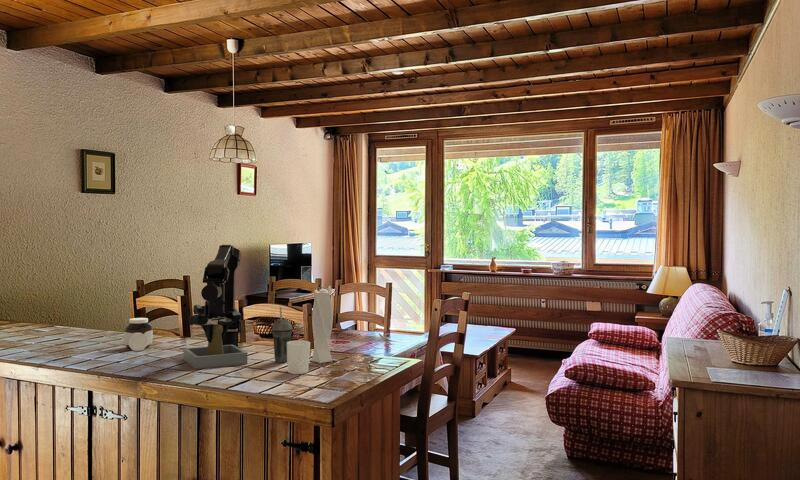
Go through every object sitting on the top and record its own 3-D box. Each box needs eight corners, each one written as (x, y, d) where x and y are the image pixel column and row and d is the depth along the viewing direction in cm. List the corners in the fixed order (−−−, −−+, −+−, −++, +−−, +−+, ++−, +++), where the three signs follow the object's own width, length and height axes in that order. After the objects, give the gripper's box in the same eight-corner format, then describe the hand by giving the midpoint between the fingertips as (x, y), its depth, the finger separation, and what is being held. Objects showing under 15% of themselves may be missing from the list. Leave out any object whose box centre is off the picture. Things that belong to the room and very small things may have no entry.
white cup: (298, 375, 188) (299, 345, 188) (281, 372, 193) (281, 342, 193) (314, 371, 195) (315, 342, 195) (297, 368, 199) (297, 339, 199)
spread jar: (143, 345, 237) (143, 316, 237) (161, 348, 231) (161, 319, 231) (116, 349, 227) (116, 320, 227) (133, 352, 221) (134, 322, 221)
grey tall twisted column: (338, 362, 210) (339, 285, 210) (320, 365, 205) (321, 286, 205) (324, 358, 216) (325, 284, 216) (306, 361, 211) (307, 284, 211)
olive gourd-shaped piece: (226, 353, 210) (227, 323, 210) (219, 357, 204) (220, 326, 204) (210, 353, 211) (211, 323, 211) (203, 356, 205) (204, 325, 205)
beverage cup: (295, 360, 211) (296, 306, 211) (283, 364, 205) (284, 308, 205) (279, 358, 214) (280, 305, 214) (267, 362, 208) (268, 307, 208)
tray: (232, 354, 220) (232, 344, 220) (247, 363, 205) (247, 352, 205) (183, 359, 210) (183, 348, 210) (194, 369, 195) (195, 357, 195)
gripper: (223, 294, 220) (222, 335, 220) (179, 298, 205) (179, 342, 205) (242, 297, 213) (241, 339, 214) (198, 301, 198) (198, 346, 198)
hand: (215, 341), depth 208 cm, fingers closed on olive gourd-shaped piece, 5 cm apart
